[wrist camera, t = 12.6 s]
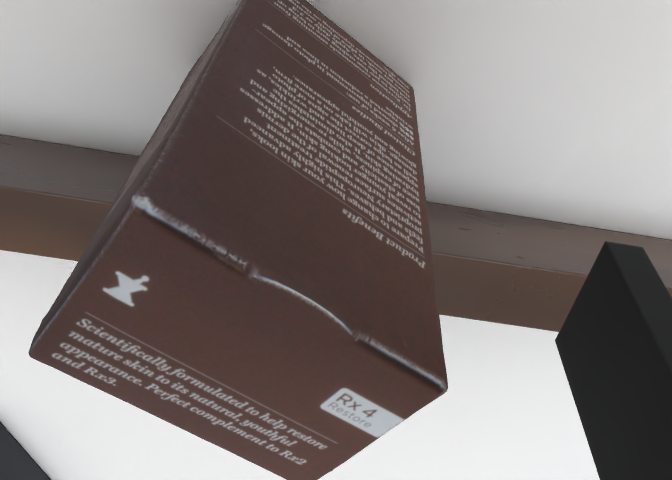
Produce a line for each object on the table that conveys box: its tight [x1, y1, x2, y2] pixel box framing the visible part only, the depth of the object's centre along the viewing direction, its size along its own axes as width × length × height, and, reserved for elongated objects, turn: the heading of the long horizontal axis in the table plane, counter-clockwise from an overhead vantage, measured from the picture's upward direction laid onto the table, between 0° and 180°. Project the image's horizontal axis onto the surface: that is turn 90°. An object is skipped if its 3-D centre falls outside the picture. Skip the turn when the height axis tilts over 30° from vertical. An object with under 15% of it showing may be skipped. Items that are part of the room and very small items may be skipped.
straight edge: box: [0, 135, 672, 332], centre depth 22 cm, size 2×33×3 cm, turn 81°
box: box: [29, 0, 448, 480], centre depth 15 cm, size 6×4×12 cm
